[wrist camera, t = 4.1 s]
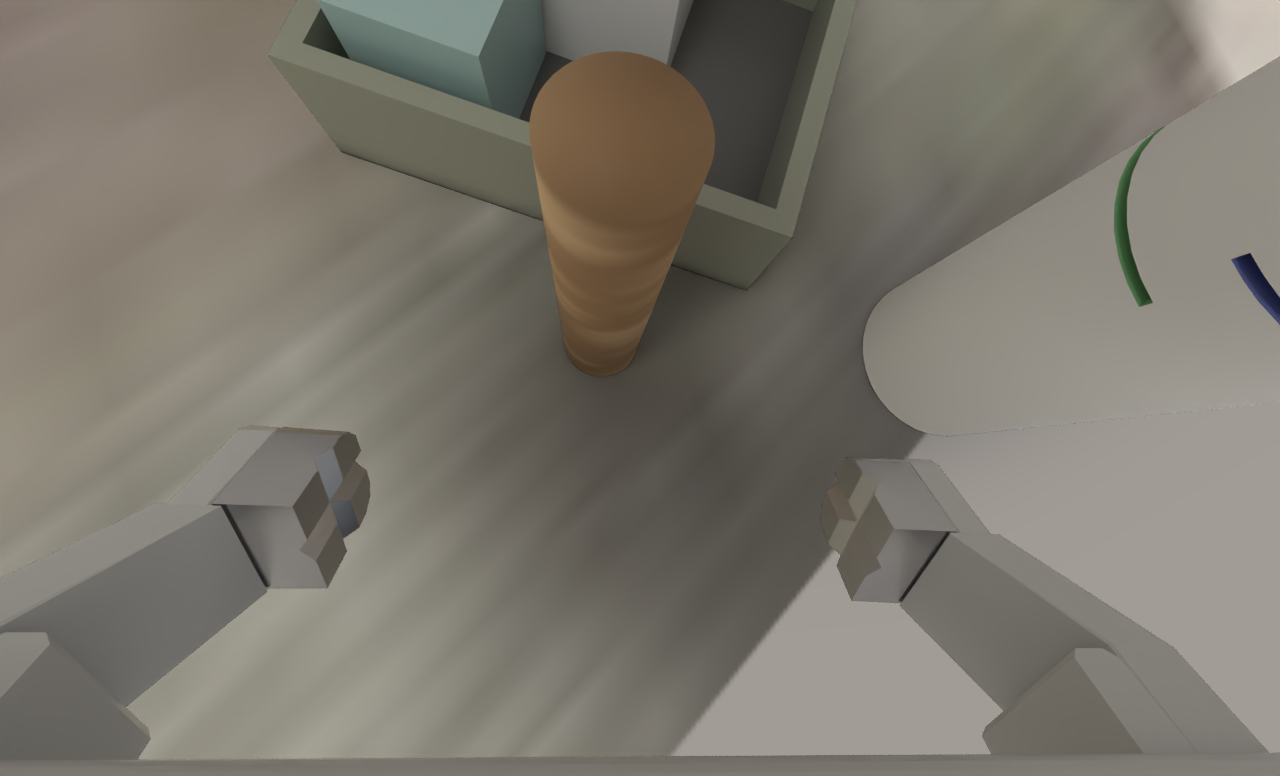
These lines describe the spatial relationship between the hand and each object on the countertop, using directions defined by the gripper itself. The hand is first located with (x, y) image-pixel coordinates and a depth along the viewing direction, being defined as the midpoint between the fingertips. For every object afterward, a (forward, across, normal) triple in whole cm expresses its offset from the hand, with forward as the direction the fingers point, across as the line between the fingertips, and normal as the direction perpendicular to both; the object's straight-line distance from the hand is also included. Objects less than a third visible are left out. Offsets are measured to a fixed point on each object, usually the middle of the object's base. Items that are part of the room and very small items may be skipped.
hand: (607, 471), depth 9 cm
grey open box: (+20, +1, -4) cm, 21 cm away
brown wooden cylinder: (+12, 0, +4) cm, 13 cm away
